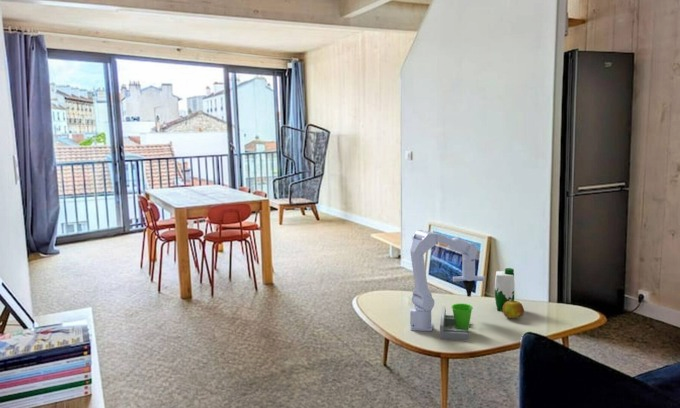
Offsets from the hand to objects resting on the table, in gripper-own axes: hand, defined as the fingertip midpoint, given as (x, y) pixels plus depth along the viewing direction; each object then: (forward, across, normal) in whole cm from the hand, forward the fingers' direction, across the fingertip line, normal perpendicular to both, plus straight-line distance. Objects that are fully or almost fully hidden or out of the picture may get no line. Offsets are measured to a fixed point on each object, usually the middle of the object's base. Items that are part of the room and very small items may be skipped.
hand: (468, 295), depth 232 cm
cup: (+11, -6, -16) cm, 20 cm away
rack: (+10, -9, -16) cm, 21 cm away
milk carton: (+11, +19, +11) cm, 24 cm away
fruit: (+11, +20, -1) cm, 23 cm away
